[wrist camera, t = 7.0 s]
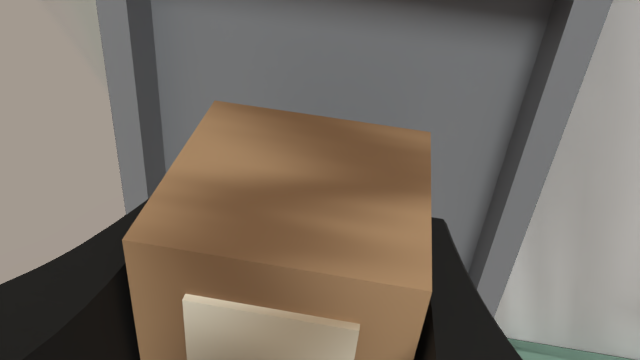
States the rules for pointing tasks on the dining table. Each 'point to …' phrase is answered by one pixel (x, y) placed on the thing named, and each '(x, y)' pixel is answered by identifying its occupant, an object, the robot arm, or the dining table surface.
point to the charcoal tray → (367, 91)
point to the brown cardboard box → (285, 241)
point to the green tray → (555, 352)
